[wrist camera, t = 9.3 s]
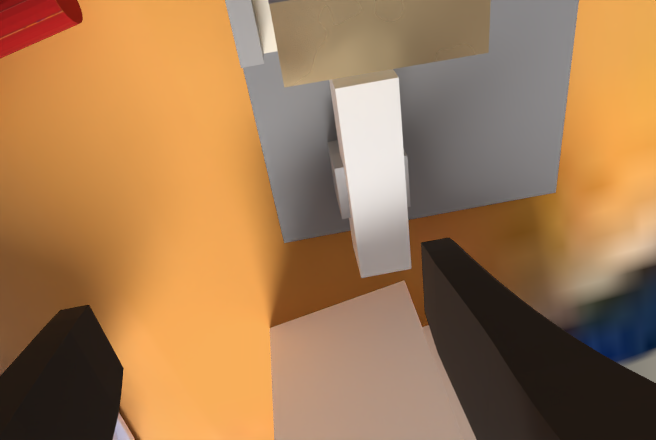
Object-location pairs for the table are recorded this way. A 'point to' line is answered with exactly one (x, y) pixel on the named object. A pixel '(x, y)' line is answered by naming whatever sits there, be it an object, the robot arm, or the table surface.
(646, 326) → the table surface
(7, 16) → the mechanical clamp
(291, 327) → the corner bracket
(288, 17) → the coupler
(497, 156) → the shaft stand
